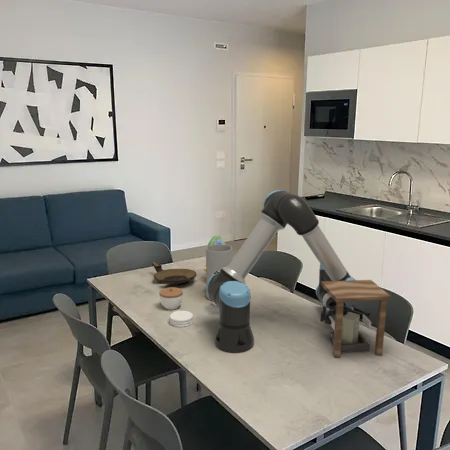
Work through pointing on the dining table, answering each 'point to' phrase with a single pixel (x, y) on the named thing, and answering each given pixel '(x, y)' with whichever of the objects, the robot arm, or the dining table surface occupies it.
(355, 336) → the skincare box
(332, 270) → the robot arm
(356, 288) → the awning stand
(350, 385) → the dining table surface
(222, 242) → the potted cactus
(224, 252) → the cylinder vase
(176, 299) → the lidded jar
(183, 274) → the brown frying pan
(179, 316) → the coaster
